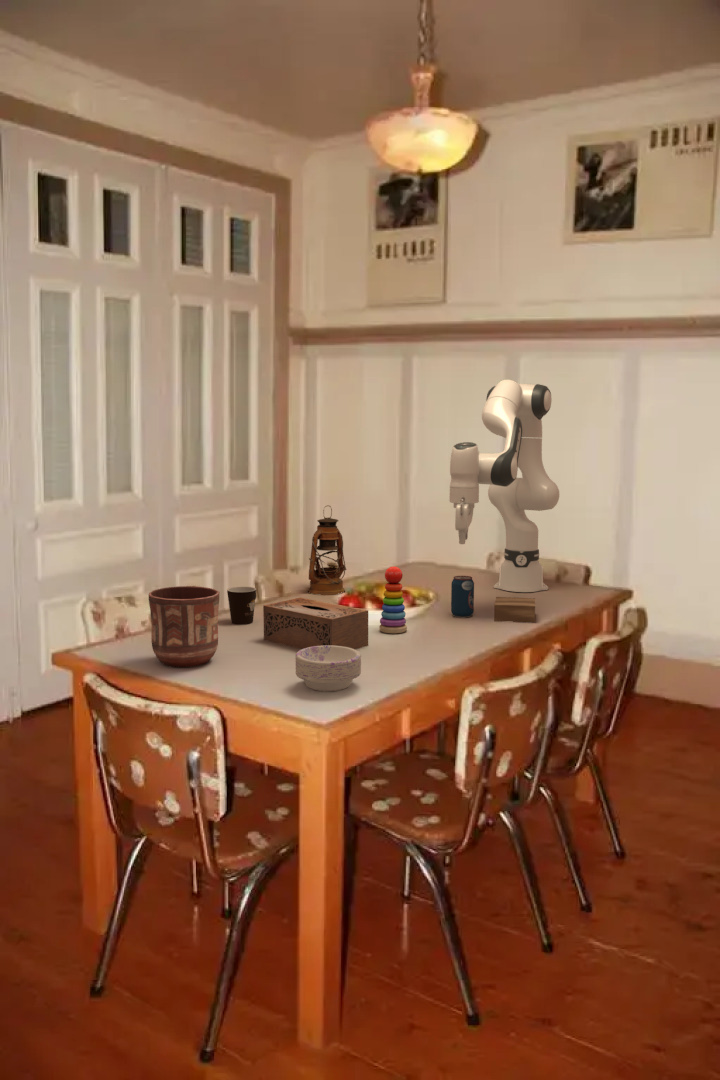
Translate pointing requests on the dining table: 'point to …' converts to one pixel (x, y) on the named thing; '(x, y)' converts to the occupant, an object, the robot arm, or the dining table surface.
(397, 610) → the stacking toy
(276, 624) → the tissue box cover
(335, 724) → the dining table surface
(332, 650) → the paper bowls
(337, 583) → the lantern
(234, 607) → the coffee mug
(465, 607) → the soda can
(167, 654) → the pottery
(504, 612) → the block
